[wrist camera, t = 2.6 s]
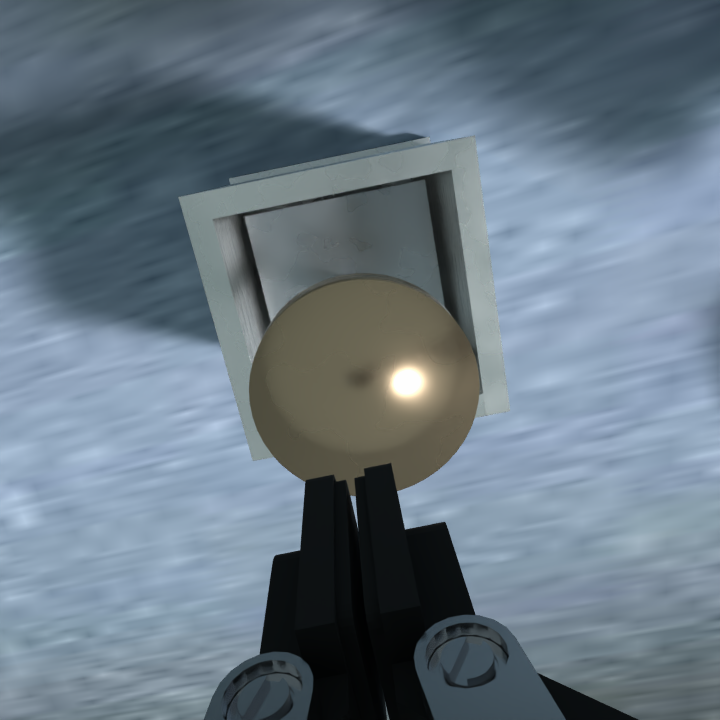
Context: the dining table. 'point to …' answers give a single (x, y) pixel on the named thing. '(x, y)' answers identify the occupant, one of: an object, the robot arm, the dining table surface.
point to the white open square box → (332, 179)
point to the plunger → (358, 339)
